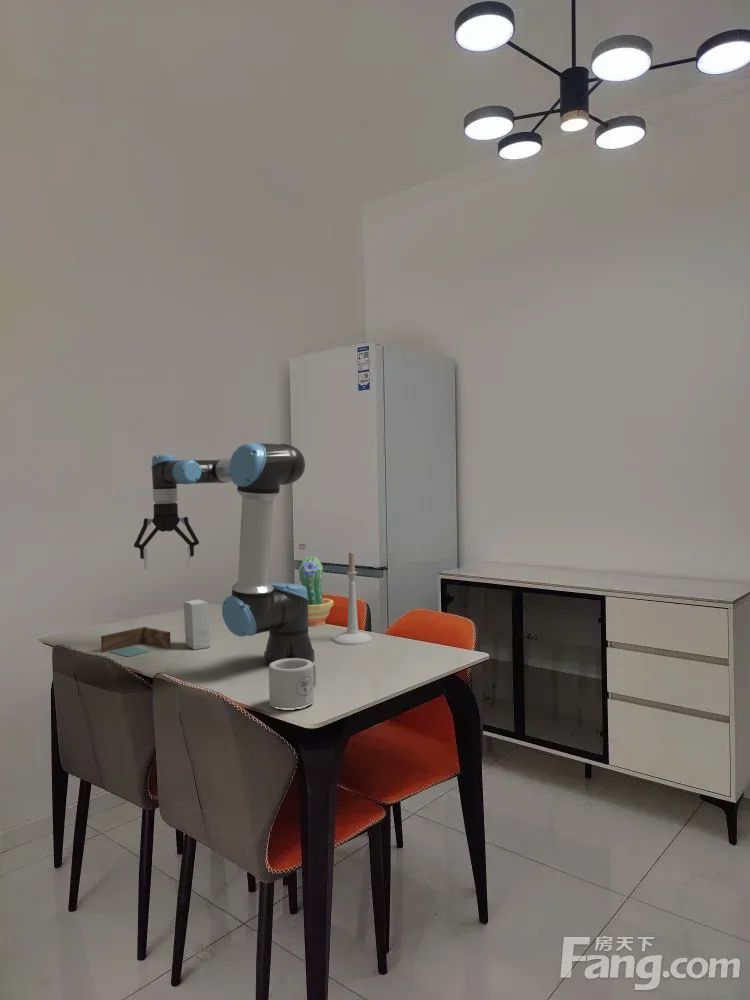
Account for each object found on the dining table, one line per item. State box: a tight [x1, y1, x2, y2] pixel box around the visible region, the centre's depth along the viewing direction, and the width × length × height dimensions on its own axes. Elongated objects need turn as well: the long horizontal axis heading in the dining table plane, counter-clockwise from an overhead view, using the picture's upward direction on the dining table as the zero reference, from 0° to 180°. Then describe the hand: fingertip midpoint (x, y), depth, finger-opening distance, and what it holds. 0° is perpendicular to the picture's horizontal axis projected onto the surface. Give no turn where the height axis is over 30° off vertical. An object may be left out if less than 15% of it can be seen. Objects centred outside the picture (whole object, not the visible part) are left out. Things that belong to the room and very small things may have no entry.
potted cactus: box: [298, 555, 335, 627], centre depth 258 cm, size 15×15×25 cm
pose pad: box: [109, 645, 151, 658], centre depth 220 cm, size 10×8×1 cm
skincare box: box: [183, 598, 211, 650], centre depth 226 cm, size 8×6×15 cm
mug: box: [268, 658, 317, 708], centre depth 170 cm, size 14×11×10 cm
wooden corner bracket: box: [100, 626, 172, 653], centre depth 223 cm, size 14×16×5 cm
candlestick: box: [333, 551, 373, 646], centre depth 231 cm, size 13×13×30 cm
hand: (167, 568), depth 225 cm, fingers open, 13 cm apart
